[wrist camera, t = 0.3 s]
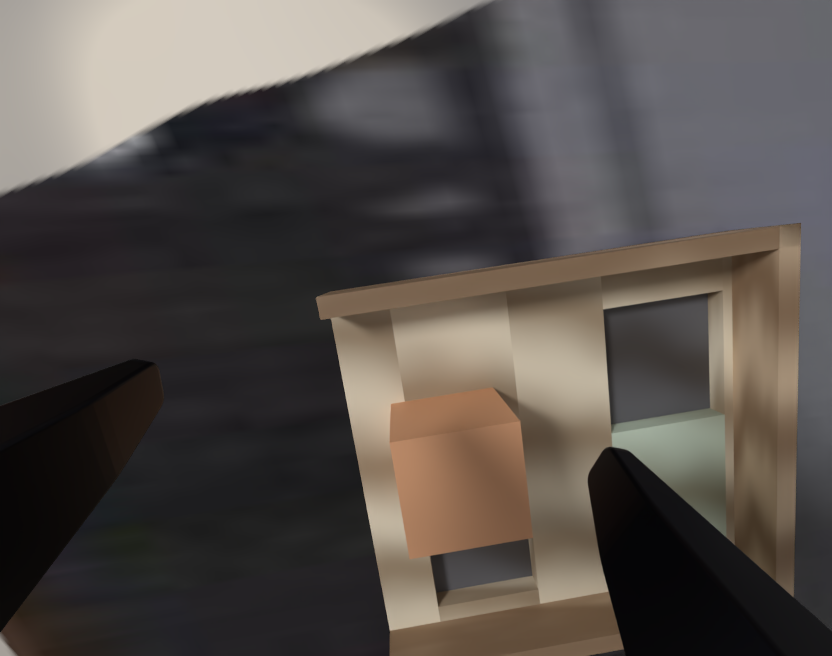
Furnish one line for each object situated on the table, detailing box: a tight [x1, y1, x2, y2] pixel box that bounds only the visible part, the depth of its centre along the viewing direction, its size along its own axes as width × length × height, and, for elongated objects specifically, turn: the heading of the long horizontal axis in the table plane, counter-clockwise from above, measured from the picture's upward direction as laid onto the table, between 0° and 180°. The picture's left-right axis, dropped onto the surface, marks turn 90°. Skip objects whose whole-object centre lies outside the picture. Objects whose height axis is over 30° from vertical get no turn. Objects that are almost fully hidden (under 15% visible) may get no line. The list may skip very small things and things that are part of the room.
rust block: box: [389, 387, 533, 559], centre depth 18 cm, size 6×6×4 cm
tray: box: [316, 223, 801, 656], centre depth 20 cm, size 21×22×4 cm
